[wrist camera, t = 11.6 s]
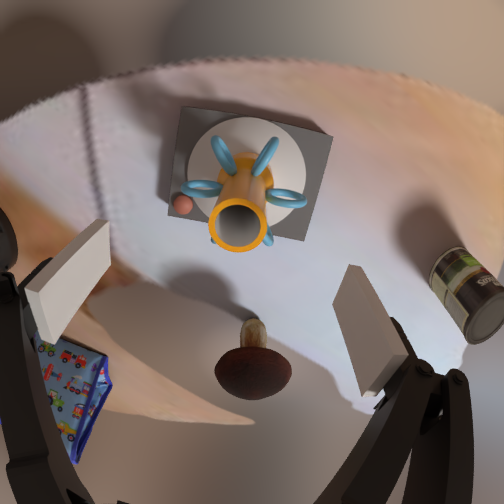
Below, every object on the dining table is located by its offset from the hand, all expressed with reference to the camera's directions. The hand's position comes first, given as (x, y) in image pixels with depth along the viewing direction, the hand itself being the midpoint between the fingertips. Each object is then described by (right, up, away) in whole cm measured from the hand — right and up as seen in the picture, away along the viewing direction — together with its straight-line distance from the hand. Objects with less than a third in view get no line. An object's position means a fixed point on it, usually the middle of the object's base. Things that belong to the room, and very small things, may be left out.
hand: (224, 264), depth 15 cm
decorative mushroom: (+2, -11, +33) cm, 35 cm away
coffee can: (+37, -3, +28) cm, 47 cm away
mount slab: (+1, +11, +21) cm, 24 cm away
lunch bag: (-42, -25, +41) cm, 64 cm away
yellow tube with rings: (+1, +10, +18) cm, 21 cm away
